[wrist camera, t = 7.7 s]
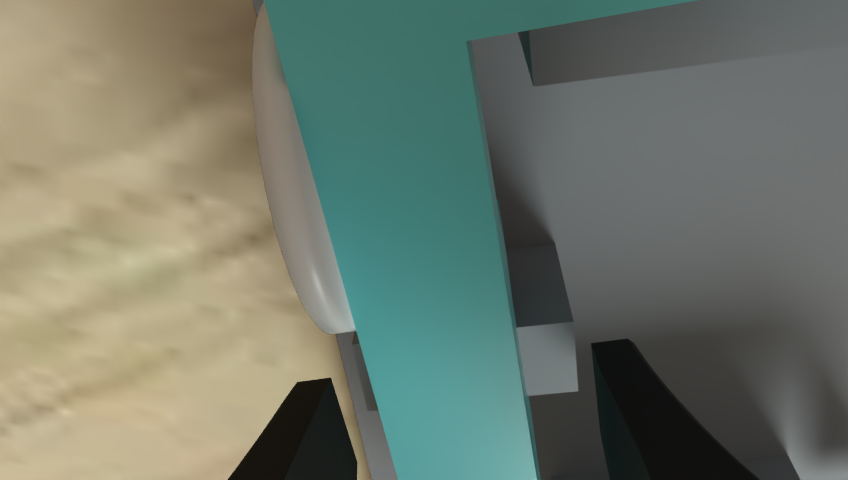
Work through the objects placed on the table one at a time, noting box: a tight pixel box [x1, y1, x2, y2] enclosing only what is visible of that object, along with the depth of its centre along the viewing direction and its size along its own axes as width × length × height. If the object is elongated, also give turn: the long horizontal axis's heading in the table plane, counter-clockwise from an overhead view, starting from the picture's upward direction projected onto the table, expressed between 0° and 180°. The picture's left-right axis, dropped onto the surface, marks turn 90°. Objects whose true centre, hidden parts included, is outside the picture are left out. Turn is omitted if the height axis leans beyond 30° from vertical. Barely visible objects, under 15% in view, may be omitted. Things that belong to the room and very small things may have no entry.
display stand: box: [253, 0, 848, 480], centre depth 15 cm, size 13×20×6 cm, turn 8°
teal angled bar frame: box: [252, 0, 697, 480], centre depth 13 cm, size 10×16×5 cm, turn 11°
